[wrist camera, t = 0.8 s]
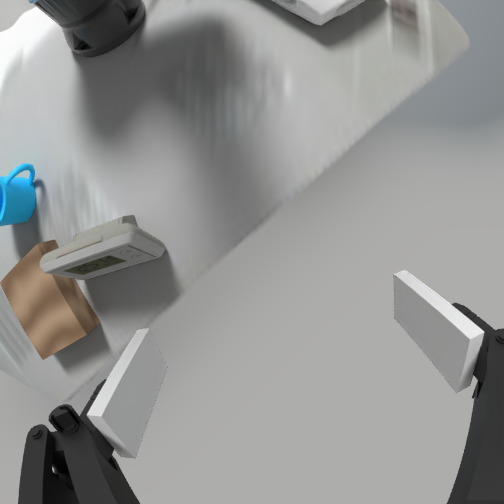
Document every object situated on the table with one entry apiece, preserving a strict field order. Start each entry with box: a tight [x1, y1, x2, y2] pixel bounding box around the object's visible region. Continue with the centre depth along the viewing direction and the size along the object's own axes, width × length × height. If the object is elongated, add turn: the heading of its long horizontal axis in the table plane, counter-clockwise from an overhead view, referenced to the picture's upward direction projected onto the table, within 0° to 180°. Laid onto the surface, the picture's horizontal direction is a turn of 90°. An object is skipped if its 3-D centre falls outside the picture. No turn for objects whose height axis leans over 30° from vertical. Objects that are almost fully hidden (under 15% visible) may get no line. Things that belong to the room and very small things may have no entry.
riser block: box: [0, 240, 101, 360], centre depth 38 cm, size 16×14×5 cm
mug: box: [0, 163, 36, 226], centre depth 34 cm, size 12×8×8 cm
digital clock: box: [40, 215, 165, 280], centre depth 35 cm, size 16×9×11 cm, turn 94°
